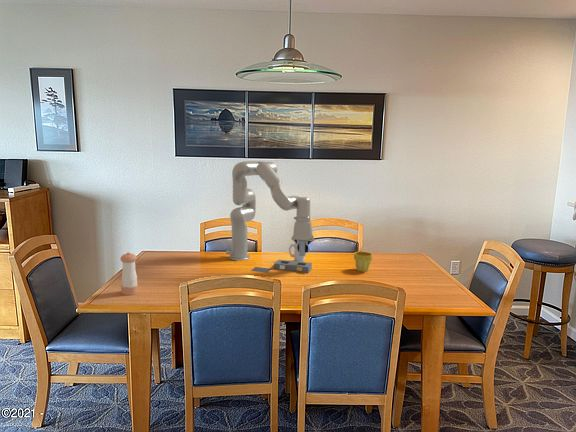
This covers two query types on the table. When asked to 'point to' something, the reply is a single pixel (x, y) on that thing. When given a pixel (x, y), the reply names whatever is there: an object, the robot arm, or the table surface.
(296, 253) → the mug
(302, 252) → the plug
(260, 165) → the robot arm
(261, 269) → the mat
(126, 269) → the salt shaker
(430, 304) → the table surface
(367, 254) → the plant pot
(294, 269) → the socket strip
